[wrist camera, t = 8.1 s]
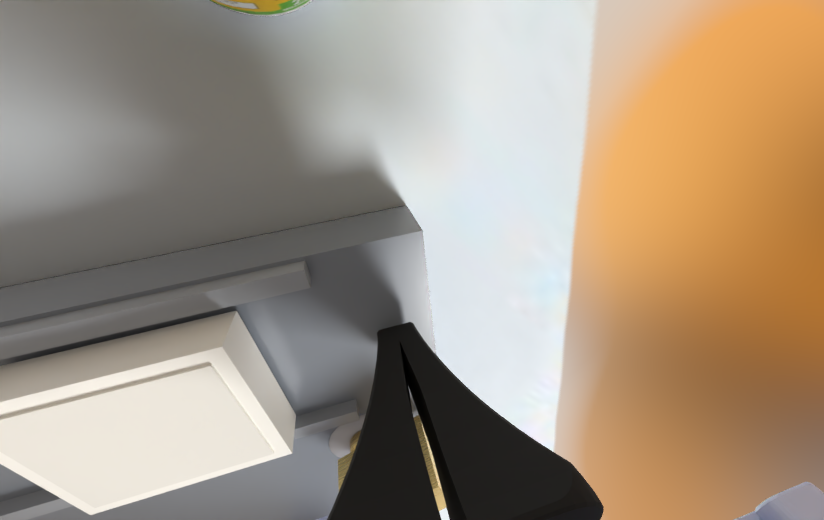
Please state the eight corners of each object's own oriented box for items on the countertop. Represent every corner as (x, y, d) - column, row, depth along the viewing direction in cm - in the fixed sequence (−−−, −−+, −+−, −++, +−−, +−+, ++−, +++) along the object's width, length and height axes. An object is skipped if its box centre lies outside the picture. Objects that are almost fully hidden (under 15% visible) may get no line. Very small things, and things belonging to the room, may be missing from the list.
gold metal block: (359, 457, 16) (367, 549, 13) (337, 443, 15) (339, 540, 12) (432, 417, 16) (458, 500, 13) (414, 400, 15) (438, 486, 12)
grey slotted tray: (437, 436, 22) (454, 491, 19) (48, 560, 18) (-4, 651, 15) (406, 205, 12) (430, 244, 9) (-414, 372, 9) (-779, 515, 6)
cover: (295, 415, 13) (292, 456, 12) (117, 466, 12) (88, 518, 11) (236, 310, 10) (221, 349, 8) (-14, 369, 9) (-80, 424, 7)
